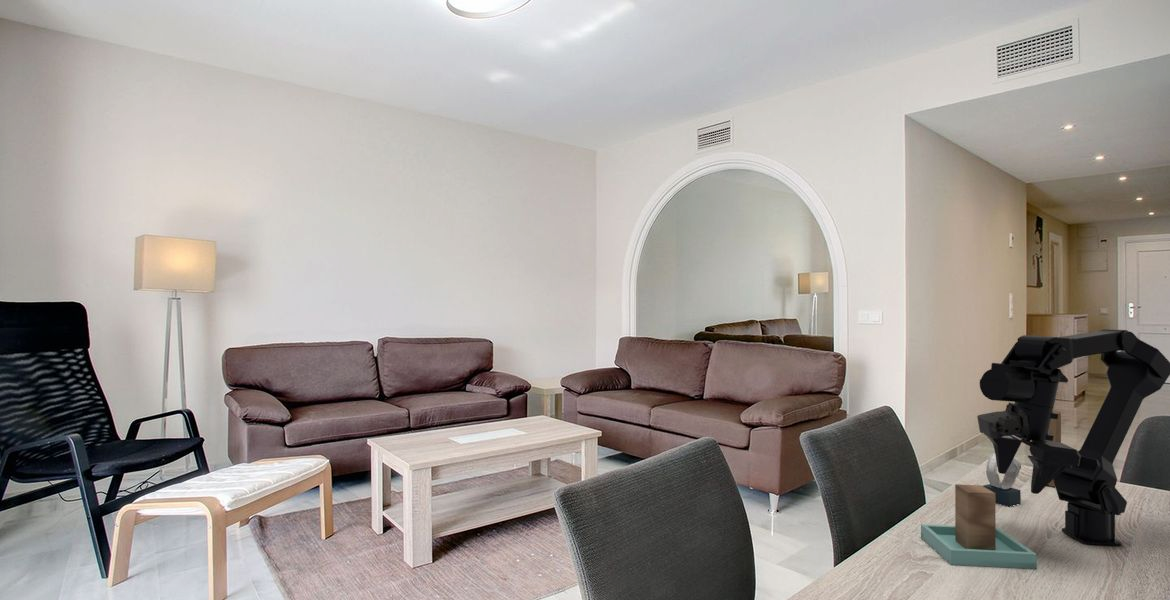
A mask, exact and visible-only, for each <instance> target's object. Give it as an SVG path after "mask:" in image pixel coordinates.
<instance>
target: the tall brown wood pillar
mask: <svg viewBox="0 0 1170 600" xmlns="http://www.w3.org/2000/svg"><path fill="white" fill-rule="evenodd" d="M954 488H955V489H954V494H955V495H954V496H955V497H954V499H955V503H954V504H955V505H954V506H955V510H954V512H955V516H954V517H955V523H954V524H955V525H954V526H955V541H956V542H957V543H959V544H960V545H961V546H962V547H963V548H965V549H976V550H996V528H997V527H996V525H997V524H996V519H997V518H996V513H997V511H996V507H997V506H996V505H997V503H995V493H994V492H992V491H990V490H989V489H987V488H985V487H984V486H983V485H981V484H955V486H954Z"/></svg>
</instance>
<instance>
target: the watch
mask: <svg viewBox="0 0 1170 600" xmlns="http://www.w3.org/2000/svg"><path fill="white" fill-rule="evenodd" d="M985 467H986V471H985V473H986V478H987V481H988V484H984V485H982V486H984V487H985V488H987V489H989V490H990V491H992V492H994V493H995V503H996V505H1000V504H1001V506H1004V505H1005V506H1004V507H1007V506H1008V508H1010V506H1011V507H1014V506H1013V505H1015V506H1018V505H1017V504H1019V505H1021V501H1022V500H1021V498H1022V497H1021V490H1020V489H1017V488H1014V487H1012V486H1013V485H1014V484H1015V482H1016V479H1017V478H1018V477H1019V474H1020V470H1021V469H1022V464H1021V462H1020V461H1019V459H1018V458H1017V457H1016V456H1014V458H1013V460H1012V462H1011V464H1010V466H1009V468H1008V470H1007V471H1006V473H1005V474H1003V475H1004V476H1003V479H1002V480H1000V476H999V472H998V468H997V462H996V456H995V451H994V452H992V453H991V454H990V455H989V457H988V460H987V462H986V466H985Z"/></svg>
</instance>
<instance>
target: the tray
mask: <svg viewBox="0 0 1170 600" xmlns="http://www.w3.org/2000/svg"><path fill="white" fill-rule="evenodd" d="M920 538H921V539H922V540H924V542H926V543H927V544H928V545H929V546H930V547H931V548H932V549H933V550H934V551H935V552H936V553H937V554H938V555H940V556H941V558H943V559H944V560H945V561H946V562H947V563H949V565H952V566H953V565H954V566H968V567H969V566H970V567H971V566H972V567H990V568H991V567H993V568H1007V569H1009V568H1010V569H1011V568H1012V569H1029V570H1037V569H1038V568H1037V567H1038V565H1037V564H1038V563H1037V562H1038V559H1037V558H1038V555H1037V553H1035V552H1034V551H1033V550H1031V549H1029V548H1028V547H1026V546H1025V545H1024V544H1022V543H1020V542H1019V541H1018V540H1017V539H1015V538H1013V537H1012V536H1010V535H1009V534H1008V533H1007V532H1005V531H1003V530H1001V529H1000V528H998V527H996V550H976V549H965V548H963V547H962V546H961V545H960V544H959V543H957V542H956V541H955V525H946V524H944V525H942V524H925V523H922V524H920Z"/></svg>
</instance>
